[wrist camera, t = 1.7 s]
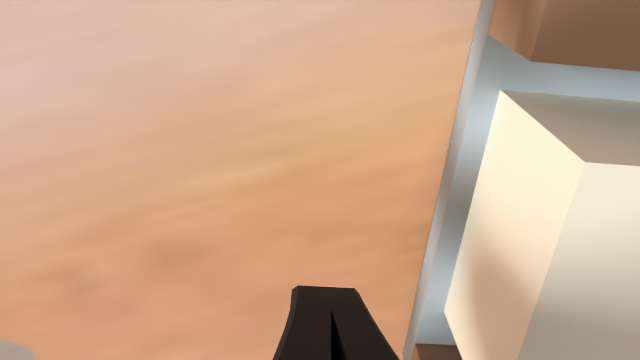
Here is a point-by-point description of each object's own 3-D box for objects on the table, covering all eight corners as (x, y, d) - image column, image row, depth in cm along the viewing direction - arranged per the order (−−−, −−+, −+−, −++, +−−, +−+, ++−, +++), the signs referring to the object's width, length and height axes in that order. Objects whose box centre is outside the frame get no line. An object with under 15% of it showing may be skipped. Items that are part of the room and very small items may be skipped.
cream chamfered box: (658, 321, 20) (766, 441, 15) (443, 311, 19) (491, 434, 15) (758, 111, 16) (935, 188, 12) (500, 89, 16) (584, 162, 11)
